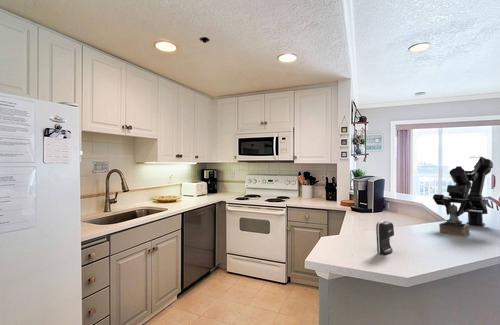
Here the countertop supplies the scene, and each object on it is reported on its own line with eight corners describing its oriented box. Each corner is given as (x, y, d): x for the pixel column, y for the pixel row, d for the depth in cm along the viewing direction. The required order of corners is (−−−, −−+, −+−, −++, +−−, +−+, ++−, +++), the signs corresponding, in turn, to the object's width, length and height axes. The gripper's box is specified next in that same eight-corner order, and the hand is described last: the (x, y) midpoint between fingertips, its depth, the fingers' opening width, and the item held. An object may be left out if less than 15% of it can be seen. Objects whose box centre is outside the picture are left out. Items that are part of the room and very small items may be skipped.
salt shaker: (466, 230, 112) (464, 204, 112) (453, 230, 112) (452, 204, 112) (455, 226, 118) (454, 202, 118) (443, 227, 118) (442, 202, 118)
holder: (445, 229, 121) (445, 221, 121) (469, 232, 114) (468, 224, 114) (439, 232, 116) (439, 224, 116) (464, 236, 108) (464, 227, 108)
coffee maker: (387, 256, 87) (386, 224, 88) (376, 253, 90) (375, 222, 91) (396, 251, 91) (394, 221, 92) (385, 249, 95) (384, 219, 95)
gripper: (433, 178, 125) (423, 202, 120) (481, 179, 109) (472, 207, 103) (441, 192, 129) (432, 216, 123) (488, 195, 113) (480, 222, 107)
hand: (452, 215), depth 114 cm, fingers closed on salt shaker, 4 cm apart
